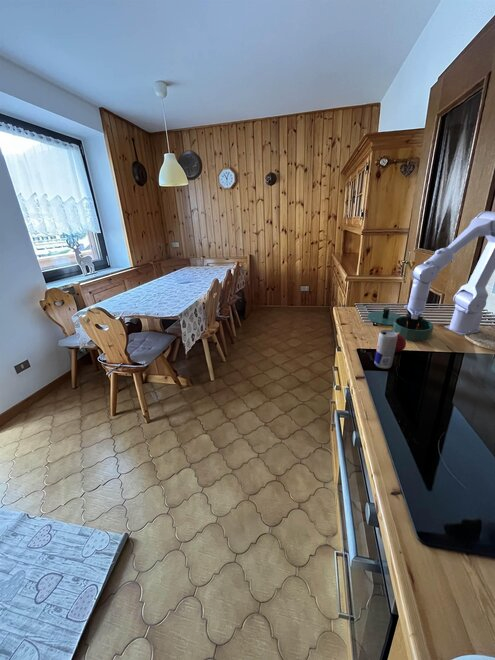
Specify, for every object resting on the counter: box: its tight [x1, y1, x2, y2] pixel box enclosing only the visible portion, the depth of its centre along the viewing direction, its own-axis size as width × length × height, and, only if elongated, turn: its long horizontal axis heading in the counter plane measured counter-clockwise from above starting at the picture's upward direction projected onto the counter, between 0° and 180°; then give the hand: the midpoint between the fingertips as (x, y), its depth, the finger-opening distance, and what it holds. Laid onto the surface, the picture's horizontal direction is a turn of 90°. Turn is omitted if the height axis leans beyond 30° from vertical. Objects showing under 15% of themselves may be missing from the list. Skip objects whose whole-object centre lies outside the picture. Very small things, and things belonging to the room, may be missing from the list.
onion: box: [394, 332, 407, 353], centre depth 100 cm, size 6×6×8 cm
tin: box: [391, 315, 434, 342], centre depth 112 cm, size 13×13×5 cm
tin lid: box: [367, 307, 402, 326], centre depth 124 cm, size 14×14×5 cm
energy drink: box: [373, 329, 398, 370], centre depth 93 cm, size 5×5×12 cm
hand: (410, 328), depth 113 cm, fingers open, 5 cm apart
